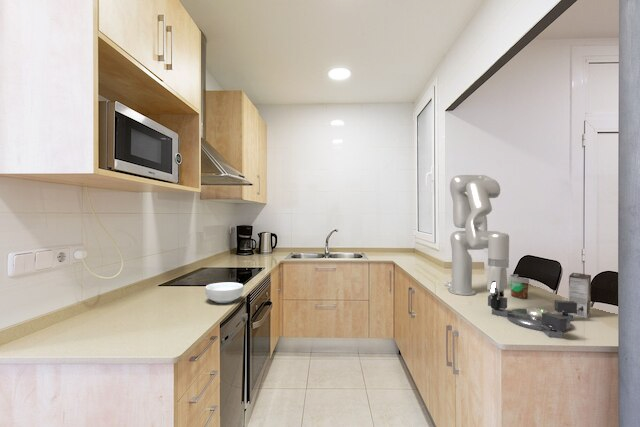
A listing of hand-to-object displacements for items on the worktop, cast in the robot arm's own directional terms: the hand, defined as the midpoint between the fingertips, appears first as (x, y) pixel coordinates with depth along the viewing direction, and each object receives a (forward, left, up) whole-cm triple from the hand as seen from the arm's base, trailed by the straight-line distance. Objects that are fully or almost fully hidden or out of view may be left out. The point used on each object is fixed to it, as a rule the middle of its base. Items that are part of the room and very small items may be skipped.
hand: (497, 307), depth 136 cm
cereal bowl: (-94, -70, -3) cm, 117 cm away
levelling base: (+12, 0, -3) cm, 12 cm away
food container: (-2, +37, -3) cm, 37 cm away
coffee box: (+24, +25, -3) cm, 35 cm away
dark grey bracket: (0, 0, 0) cm, 0 cm away
